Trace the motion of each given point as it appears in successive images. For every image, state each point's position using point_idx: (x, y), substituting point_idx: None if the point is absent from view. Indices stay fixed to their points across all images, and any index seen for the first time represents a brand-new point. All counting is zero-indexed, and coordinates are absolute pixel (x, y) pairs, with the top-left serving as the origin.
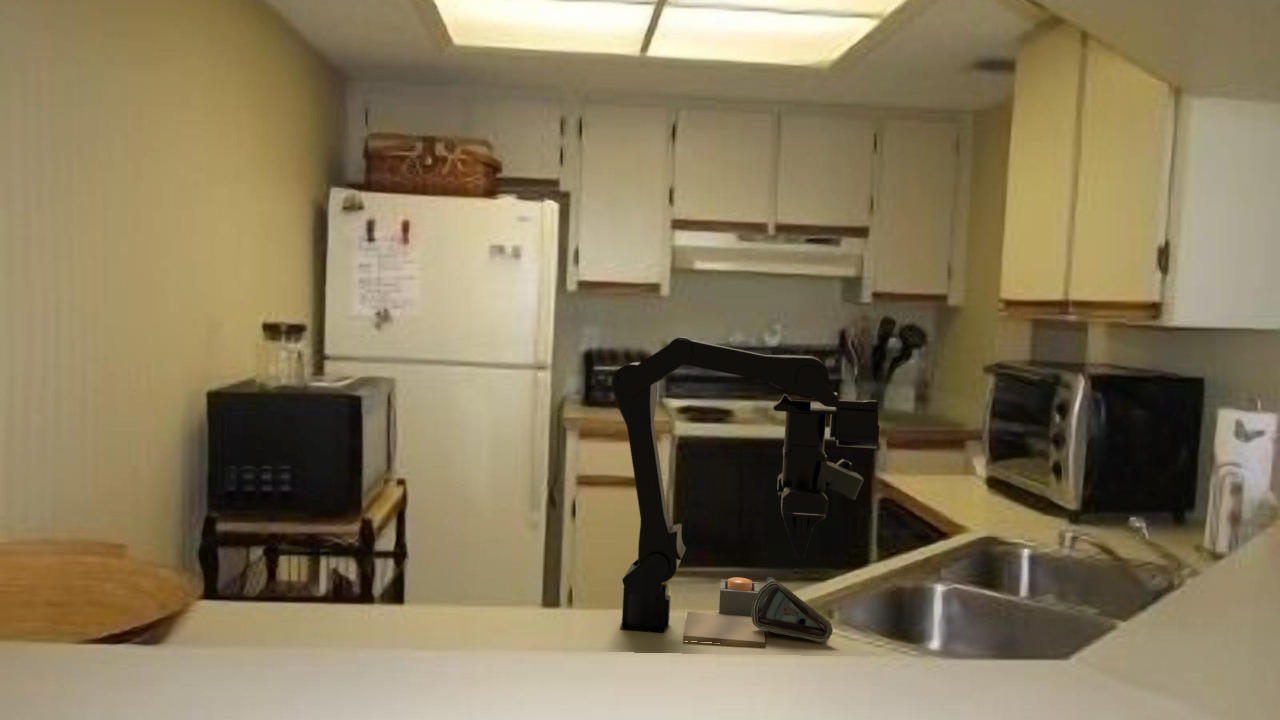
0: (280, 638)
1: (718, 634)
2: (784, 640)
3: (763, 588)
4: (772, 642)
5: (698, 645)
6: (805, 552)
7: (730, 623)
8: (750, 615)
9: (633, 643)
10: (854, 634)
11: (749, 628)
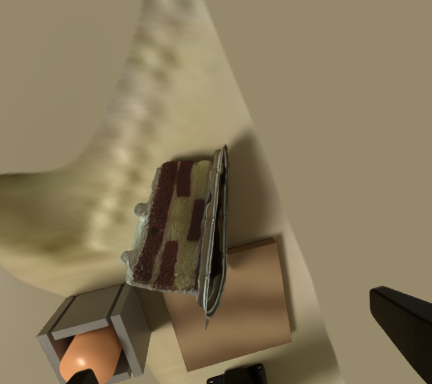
0: None
1: (270, 306)
2: None
3: (209, 313)
4: (237, 234)
5: (290, 314)
6: (417, 299)
7: None
8: (135, 294)
9: (311, 374)
10: (126, 110)
11: None
